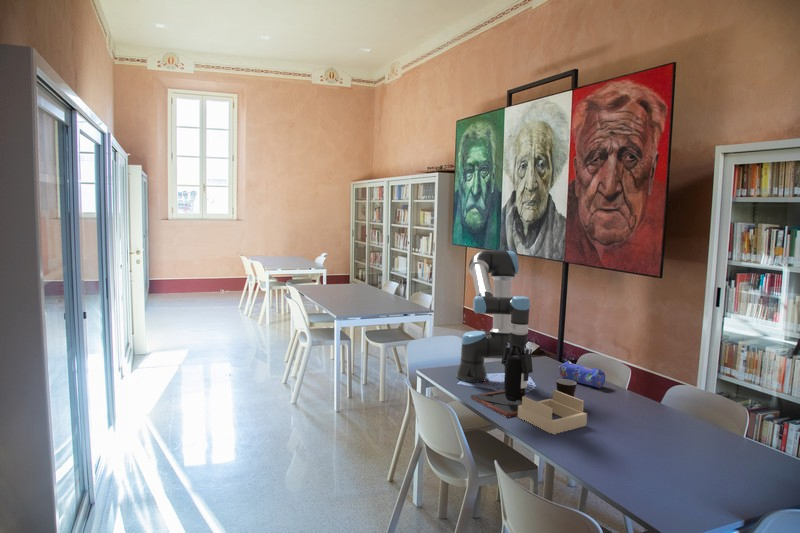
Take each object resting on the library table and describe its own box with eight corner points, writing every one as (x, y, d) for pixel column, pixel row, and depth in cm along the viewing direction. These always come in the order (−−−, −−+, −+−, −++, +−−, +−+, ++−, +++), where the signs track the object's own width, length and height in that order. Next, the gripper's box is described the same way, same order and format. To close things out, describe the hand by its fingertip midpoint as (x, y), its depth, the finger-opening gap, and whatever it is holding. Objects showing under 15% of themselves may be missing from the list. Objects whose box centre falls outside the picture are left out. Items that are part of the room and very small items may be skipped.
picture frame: (470, 399, 243) (506, 419, 221) (470, 394, 243) (506, 414, 221) (505, 393, 252) (543, 412, 231) (505, 389, 252) (543, 407, 230)
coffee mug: (570, 409, 234) (572, 386, 233) (551, 404, 239) (553, 382, 238) (580, 402, 243) (581, 380, 242) (561, 397, 248) (563, 376, 247)
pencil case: (557, 378, 277) (558, 360, 276) (566, 375, 283) (567, 358, 282) (597, 390, 261) (599, 371, 260) (606, 387, 267) (607, 368, 266)
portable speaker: (528, 402, 229) (531, 357, 227) (506, 402, 229) (509, 357, 226) (521, 395, 238) (524, 352, 236) (500, 395, 237) (503, 351, 235)
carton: (517, 417, 221) (518, 395, 220) (549, 409, 232) (550, 388, 231) (553, 434, 206) (555, 410, 205) (586, 425, 216) (588, 402, 215)
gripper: (494, 328, 237) (491, 378, 239) (531, 339, 219) (527, 393, 221) (507, 327, 241) (504, 376, 243) (544, 337, 223) (540, 390, 225)
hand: (515, 384), depth 232 cm, fingers closed on portable speaker, 9 cm apart
